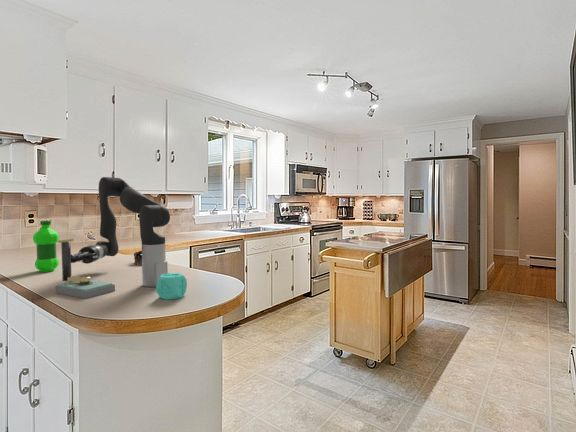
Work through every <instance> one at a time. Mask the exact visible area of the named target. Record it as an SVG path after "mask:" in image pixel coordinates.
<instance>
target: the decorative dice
mask: <svg viewBox="0 0 576 432" xmlns="http://www.w3.org/2000/svg"><path fill="white" fill-rule="evenodd" d="M187 287H188V282H187V279H186V276H185V275H184V274H183V273H179V272H168V274H163V275H161V276H160V277H159V279H158V281H157V284H156V287H155V289H156V290H155V291H156V293H157V295H158V297H159V298H161V299H162V300H168V301H169V300H170V301H171V300H177V299H180V298H182V297H184V296H185V294H186V292H187Z"/></svg>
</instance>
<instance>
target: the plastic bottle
mask: <svg viewBox="0 0 576 432" xmlns="http://www.w3.org/2000/svg"><path fill="white" fill-rule="evenodd" d="M39 223H40V226H41V228H40V229H39V230H37V231H36V232H35V233H33V236H32V241H33V243H34V244H35V245H36V260H35V262H34V267H35V269H36V270H38V271H39V272H41V273H49V271H50V272H53V271H54V270H55V269H57V267H58V266H59V265H60V261H59V259H58V257H57V243H58V240H60V235H59V233H58V232H57V231H56V230H54V229H52V228H51V225H52V221H51V220H41V221H40V222H39Z"/></svg>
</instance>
